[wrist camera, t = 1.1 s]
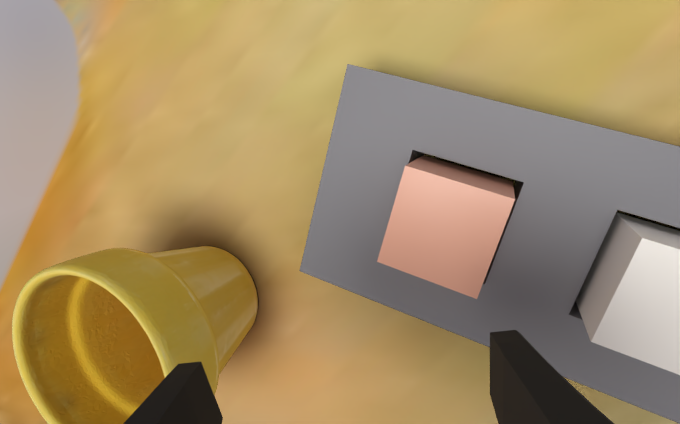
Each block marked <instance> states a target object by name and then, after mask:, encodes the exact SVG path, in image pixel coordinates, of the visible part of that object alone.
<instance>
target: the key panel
mask: <svg viewBox="0 0 680 424" xmlns="http://www.w3.org/2000/svg"><path fill="white" fill-rule="evenodd" d="M424 153H425V154H429V155H432V156H436V157H439V158H442V159H446V160H449V161H453V162H456V163H460V164H463V165H466V166H470V167H473V168H477V169H480V170H483V171H487V172H490V173H494V174H497V175H500V176H504V177H507V178H511V179H514V180H516V182H515V185H514V194H515V201H514V204H513V206H512V209H511V211H510V214H509V217H508V219H507V222H506V224H505V227H504V230H503V232H502V235H501V237H500V240H499V243H498V245H497V248H496V251H495V253H494V256H493V258H492V261H491V264H490V266H489V269H488V271H487V274H486V277H485V279H484V282H483V284H482V287H481V290H480V292H479V295H478V298H477V299H475V298H473V297H470V296H467V295H465V294H462V293H459V292H457V291H454V290H451V289H449V288H446V287H443V286H441V285H438V284H435V283H433V282H430V281H427V280H425V279H422V278H419V277H417V276H414V275H411V274H409V273H406V272H403V271H401V270H398V269H395V268H393V267H390V266H387V265H385V264H382V263H379V262H377V260H378V257H379V253H380V250H381V246H382V243H383V239H384V236H385V233H386V229H387V226H388V222H389V219H390V215H391V212H392V209H393V205H394V202H395V198H396V195H397V191H398V188H399V185H400V181H401V178H402V174H403V171H404V168H405V165H407V164H409V163H410V162H412V161H414V160H416V159H417V158H419V157H421V156H423V155H424ZM617 210H620V211H623V212H626V213H630V214H633V215H637V216H640V217H643V218H647V219H650V220H654V221H657V222H660V223H664V224H667V225H671V226H674V227H677V228H680V147H679V146H675V145H671V144H667V143H663V142H659V141H655V140H651V139H647V138H643V137H639V136H635V135H631V134H627V133H623V132H619V131H615V130H611V129H607V128H603V127H599V126H595V125H591V124H587V123H583V122H579V121H575V120H571V119H567V118H563V117H559V116H555V115H551V114H547V113H542V112H538V111H534V110H530V109H526V108H522V107H518V106H514V105H510V104H506V103H502V102H498V101H494V100H490V99H486V98H482V97H478V96H474V95H470V94H466V93H462V92H458V91H454V90H450V89H446V88H442V87H438V86H434V85H430V84H426V83H422V82H418V81H414V80H410V79H406V78H402V77H398V76H394V75H390V74H386V73H382V72H378V71H374V70H370V69H366V68H362V67H358V66H353V65H349V64H348V65H347V69H346V73H345V78H344V82H343V86H342V91H341V95H340V99H339V104H338V108H337V112H336V117H335V121H334V125H333V129H332V134H331V138H330V142H329V147H328V151H327V155H326V160H325V164H324V168H323V173H322V177H321V181H320V185H319V190H318V194H317V198H316V203H315V207H314V211H313V216H312V220H311V224H310V229H309V233H308V237H307V241H306V246H305V250H304V254H303V259H302V263H301V267H300V271H301V272H303V273H306V274H308V275H311V276H313V277H316V278H318V279H321V280H323V281H326V282H328V283H331V284H333V285H336V286H338V287H341V288H343V289H346V290H348V291H351V292H353V293H356V294H358V295H361V296H363V297H366V298H368V299H371V300H373V301H376V302H378V303H381V304H383V305H386V306H388V307H391V308H393V309H396V310H398V311H401V312H403V313H406V314H408V315H411V316H413V317H416V318H418V319H421V320H423V321H426V322H428V323H431V324H433V325H435V326H438V327H440V328H443V329H445V330H448V331H450V332H453V333H455V334H458V335H460V336H463V337H465V338H468V339H470V340H473V341H475V342H478V343H480V344H483V345H485V346H488V347H490V332H498V331H508V330H517V331H518V332H519V333H521V334H522V335H523V337H524V338H525V339H526V340H527V341H528V342H529V343H530V344H531V345H532V346H533V347H534V348H535V349H536V350H537V351H538V352H539V353H540V354H541V355H542V356H543V358H544V359H545V360H546V361H547V362H548V363H549V364H550V365H551V366H552V367H553V368H554V369H555V370H556V371H557V372H558V373H559V374H560V375H561V376H563V377H565V378H568V379H570V380H573V381H575V382H578V383H580V384H583V385H585V386H587V387H590V388H592V389H595V390H597V391H600V392H602V393H605V394H607V395H610V396H612V397H615V398H617V399H620V400H622V401H625V402H627V403H630V404H632V405H635V406H637V407H640V408H642V409H645V410H647V411H650V412H652V413H655V414H657V415H660V416H662V417H665V418H667V419H670V420H672V421H675V422H677V423H680V375H678V374H676V373H673V372H670V371H668V370H665V369H662V368H660V367H657V366H654V365H652V364H649V363H646V362H644V361H641V360H638V359H636V358H633V357H630V356H628V355H625V354H622V353H620V352H617V351H614V350H611V349H609V348H606V347H603V346H601V345H598V344H595V343H593V342H591V341H590V338H589V335H588V333H587V330H586V327H585V325H584V322H583V319H582V317H581V314H580V311H579V309H578V306H577V303H576V301H575V300H576V298H577V296H578V294H579V291H580V289H581V287H582V285H583V283H584V281H585V278H586V276H587V274H588V272H589V270H590V268H591V266H592V263H593V261H594V259H595V257H596V255H597V253H598V250H599V248H600V246H601V244H602V242H603V240H604V238H605V235H606V233H607V231H608V229H609V227H610V225H611V222H612V220H613V218H614V216H615V214H616V212H617Z"/></svg>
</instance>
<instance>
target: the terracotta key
mask: <svg viewBox="0 0 680 424" xmlns="http://www.w3.org/2000/svg"><path fill="white" fill-rule="evenodd" d="M514 201H515V194H514V187H513V181H509V180H506V179H502V178H499V177H496V176H492V175H489V174H486V173H482V172H479V171H475V170H472V169H469V168H465V167H462V166H458V165H455V164H452V163H448V162H445V161H441V160H438V159H435V158H431V157H428V156H425V155H423V156H421V157H419V158H417V159H416V160H414V161H412V162H410V163H409V164H407V165H405V168H404V171H403V174H402V178H401V181H400V185H399V188H398V191H397V195H396V198H395V202H394V205H393V209H392V212H391V215H390V219H389V222H388V226H387V229H386V233H385V236H384V239H383V243H382V246H381V250H380V253H379V257H378V260H377V262H379V263H382V264H385V265H387V266H390V267H393V268H395V269H398V270H401V271H403V272H406V273H409V274H411V275H414V276H417V277H419V278H422V279H425V280H427V281H430V282H433V283H435V284H438V285H441V286H443V287H446V288H449V289H451V290H454V291H457V292H459V293H462V294H465V295H467V296H470V297H473V298H475V299H477V298H478V295H479V292H480V290H481V287H482V284H483V282H484V279H485V277H486V274H487V271H488V269H489V266H490V264H491V261H492V258H493V256H494V253H495V251H496V248H497V245H498V243H499V240H500V237H501V235H502V232H503V230H504V227H505V224H506V222H507V219H508V217H509V214H510V211H511V209H512V206H513V204H514Z"/></svg>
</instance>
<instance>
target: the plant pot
mask: <svg viewBox="0 0 680 424" xmlns="http://www.w3.org/2000/svg"><path fill="white" fill-rule="evenodd" d="M257 310H258V298H257V291H256V288H255V285H254V282H253V280H252V278H251V276H250V274H249V272H248V271H247V269H246V268H245V266H244V265H243V264H242V263H241V262H240V261H239V260H238V259H237V258H236V257H235V256H233V255H232V254H230V253H229V252H227V251H225V250H223V249H220V248H216V247H211V246H200V247H192V248H185V249H177V250H170V251H162V252H154V253H144V252H141V251H138V250H133V249H127V248H113V249H107V250H102V251H98V252H94V253H91V254H88V255H84V256H81V257H78V258H74V259H71V260H68V261H65V262H62V263H59V264H56V265H54V266H51V267H49V268H46V269H44V270H42V271H40V272H39V273H37V274H36V275H34V276H33V277H32V278H31V279H30V280H29V281H28V282H27V283H26V284H25V286H24V287H23V289H22V290H21V292H20V294H19V296H18V298H17V301H16V305H15V308H14V312H13V319H12V339H13V348H14V354H15V358H16V362H17V366H18V369H19V372H20V375H21V378H22V380H23V382H24V385H25V387H26V389H27V391H28V393H29V395H30V397H31V399H32V401H33V403H34V404H35V406H36V408H37V409H38V411H39V412H40V414H41V415H42V416H43V418H44V419H45V420H46V422H47V423H48V424H123V423H124V422H125V421H126V420H127V419H128V418H129V417H130V416H131V415H132V414H133V413H134V411H135V410H136V409H137V408H138V407H139V406H140V405H141V404H142V403H143V402H144V400H145V399H146V398H147V397H148V396H149V395H150V394H151V393H152V392H153V391H154V389H155V388H156V387H157V386H158V385H159V384H160V383H161V382H162V381H163V380H164V378H165V377H166V376H167V375H168V374H169V373H170V372H171V371H172V370H173V369H174V368H175V367H176V366H177V365H178V364H181V363H191V362H202V365H203V368H204V370H205V373H206V375H207V378H208V381H209V383H210V386H211V389H212V391H213V394H214V395H215V392H216V389H217V385H218V378H219V374H220V373H221V371H222V370H223V368H224V367H225V365H226V364H227V362H228V361H229V359H230V358H231V356H232V355H233V353H234V352H235V351H236V349H237V348H238V346H239V345H240V343H241V342H242V340H243V339H244V337H245V336H246V334H247V333H248V331H249V330H250V329H251V327H252V325H253V323H254V321H255V318H256V315H257Z"/></svg>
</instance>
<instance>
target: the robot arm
mask: <svg viewBox="0 0 680 424" xmlns="http://www.w3.org/2000/svg"><path fill="white" fill-rule="evenodd" d="M490 395H491V399H492V402H493V406H494V409H495V413H496V416H497V420H498V423H499V424H614V423H613V422H612V421H610V420H609V419H608V418H607V417H606V416H605V415H604V414H602V413H601V412H600V411H599V410H598V409H597V408H596V407H595V406H593V405H592V404H591V403H590V402H589V401H588V400H587V399H586V398H585V397H584V396H583V395H582V394H581V393H579V392H578V391H577V390H576V389H575V388H574V387H573V386H572V385H571V384H570V383H569V382H568V381H567V380H566V379H565V378H564V377H563V376H561V375H560V374H559V373H558V372H557V371H556V370H555V369H554V368H553V367H552V366H551V365H550V364H549V363H548V362H547V361H546V360H545V359H544V358H543V356H542V355H541V354H540V353H539V352H538V351H537V350H536V349H535V348H534V347H533V346H532V345H531V344H530V343H529V342H528V341H527V340H526V339H525V338H524V337H523V335H522V334H521V333H519V332H518V331H517V330H508V331H498V332H490ZM222 418H223V417H222V415H221V412H220V409H219V407H218V404H217V402H216V399H215V396H214V394H213V391H212V389H211V386H210V383H209V381H208V378H207V375H206V373H205V370H204V368H203V365H202V362H191V363H181V364H178V365H177V366H176V367H175V368H174V369H173V370H172V371H171V372H170V373H169V374H168V375H167V376H166V377H165V378H164V380H163V381H162V382H161V383H160V384H159V385H158V386H157V387H156V388H155V389H154V391H153V392H152V393H151V394H150V395H149V396H148V397H147V398H146V399H145V400H144V402H143V403H142V404H141V405H140V406H139V407H138V408H137V409H136V410H135V411H134V413H133V414H132V415H131V416H130V417H129V418H128V419H127V420H126V421H125V422H124V423H123V424H222Z"/></svg>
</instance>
